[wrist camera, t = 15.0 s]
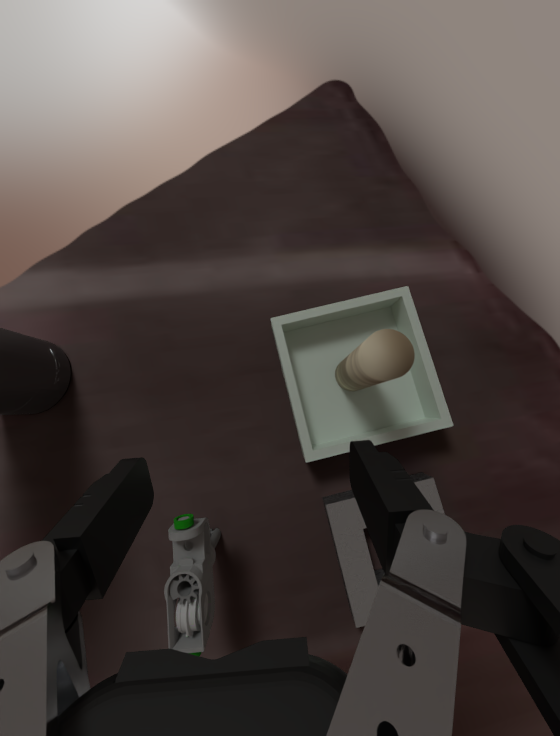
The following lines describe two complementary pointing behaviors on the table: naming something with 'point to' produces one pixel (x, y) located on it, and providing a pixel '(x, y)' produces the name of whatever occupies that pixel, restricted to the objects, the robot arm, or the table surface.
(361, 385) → the dowel
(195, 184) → the table surface
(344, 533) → the socket block
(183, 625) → the mechanical component
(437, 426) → the tray
